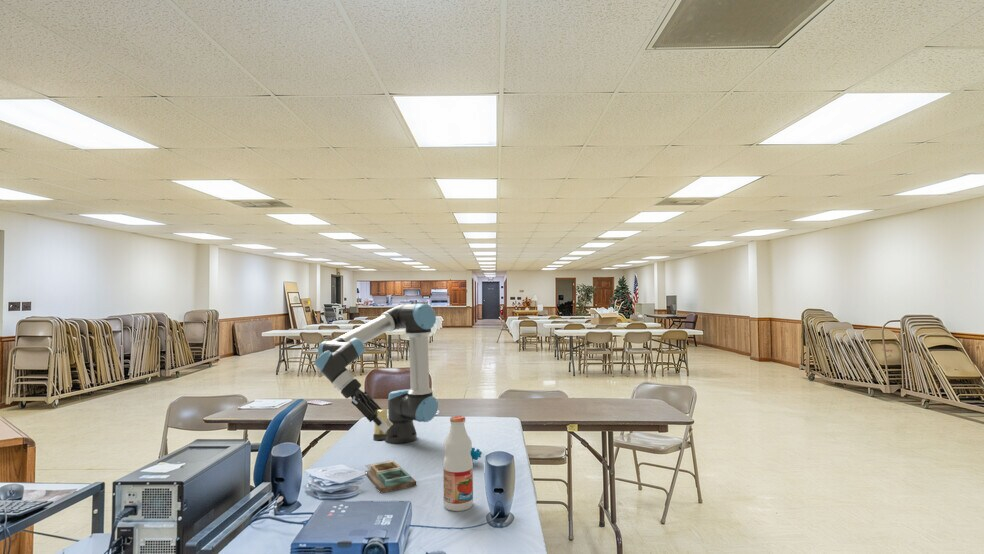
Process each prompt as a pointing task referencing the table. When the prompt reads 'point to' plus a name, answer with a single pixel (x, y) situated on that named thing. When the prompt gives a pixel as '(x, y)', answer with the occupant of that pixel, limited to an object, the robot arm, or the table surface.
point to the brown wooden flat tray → (389, 476)
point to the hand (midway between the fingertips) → (388, 428)
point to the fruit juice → (458, 467)
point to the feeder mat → (372, 464)
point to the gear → (475, 454)
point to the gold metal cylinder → (378, 433)
